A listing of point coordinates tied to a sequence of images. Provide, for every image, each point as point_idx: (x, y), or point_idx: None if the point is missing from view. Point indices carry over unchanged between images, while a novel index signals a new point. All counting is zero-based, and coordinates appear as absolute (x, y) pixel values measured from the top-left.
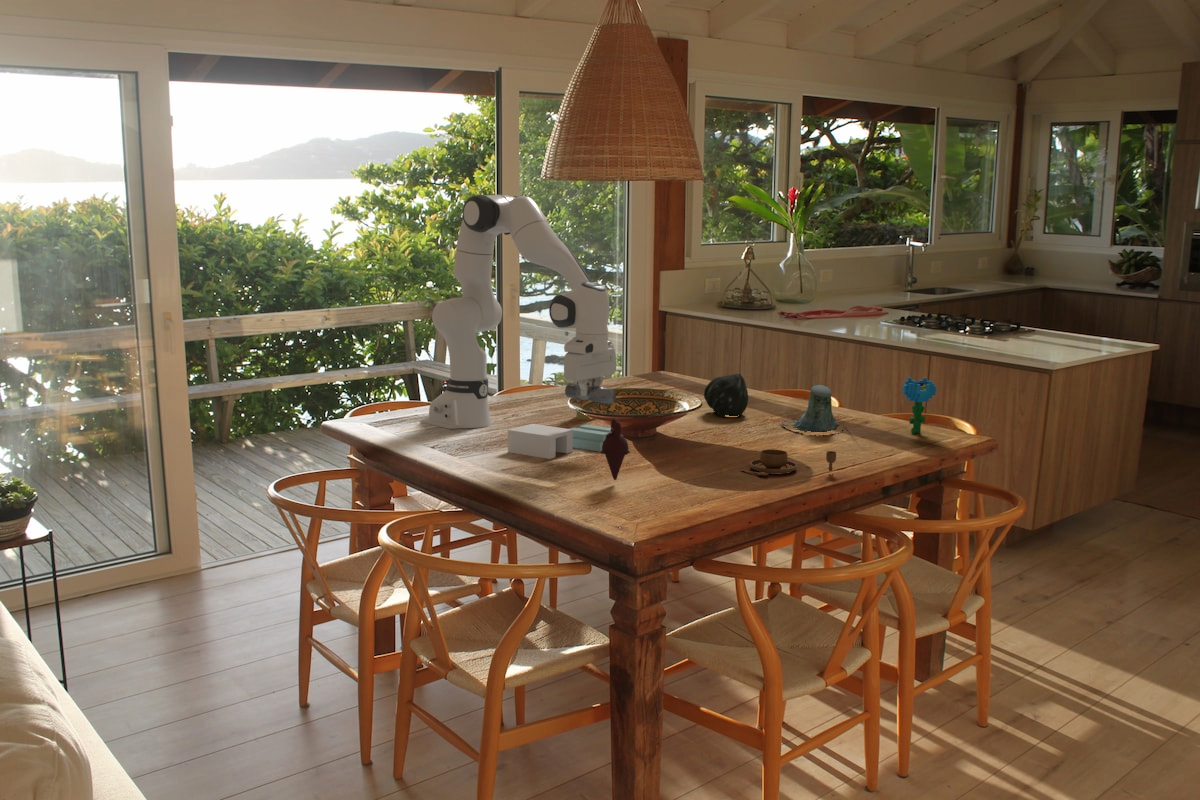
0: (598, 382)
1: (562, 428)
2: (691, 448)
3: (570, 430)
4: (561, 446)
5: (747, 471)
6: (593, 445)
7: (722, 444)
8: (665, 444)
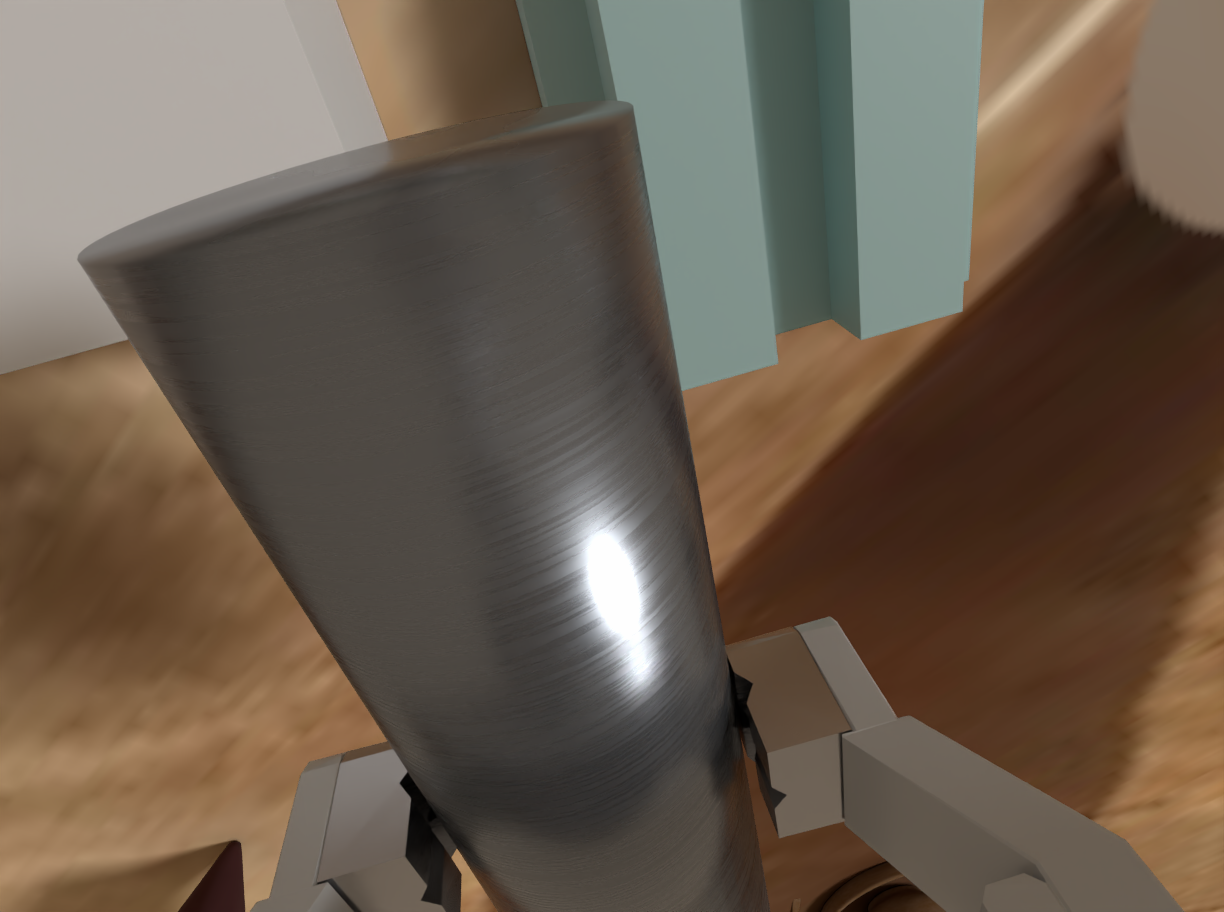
0: (942, 871)
1: (311, 119)
2: (1044, 581)
3: None
4: None
5: (793, 902)
6: None
7: (1207, 593)
8: (1070, 439)
